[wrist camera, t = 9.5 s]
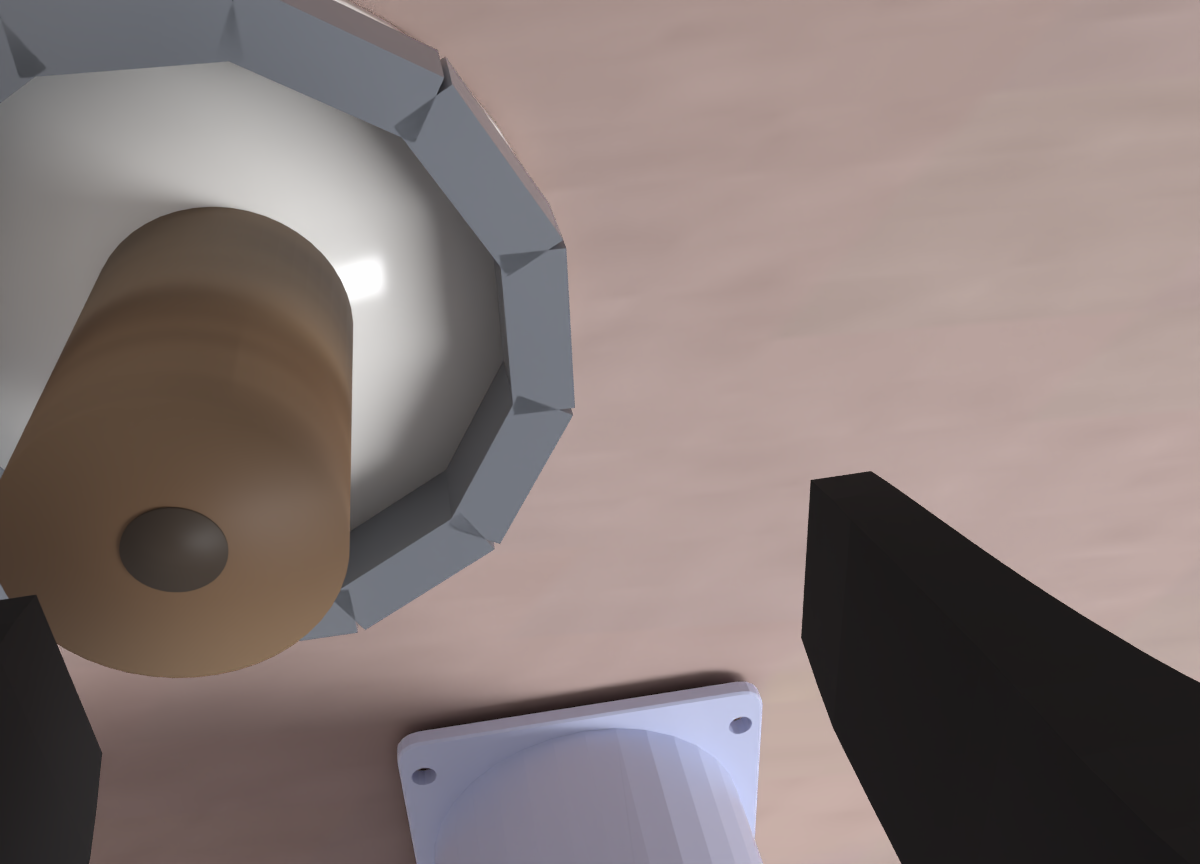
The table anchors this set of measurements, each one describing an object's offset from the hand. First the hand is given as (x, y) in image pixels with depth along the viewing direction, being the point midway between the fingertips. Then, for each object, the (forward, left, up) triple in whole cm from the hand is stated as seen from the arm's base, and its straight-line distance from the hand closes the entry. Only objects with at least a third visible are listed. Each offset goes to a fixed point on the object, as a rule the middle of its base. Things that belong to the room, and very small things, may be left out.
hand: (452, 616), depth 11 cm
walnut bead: (-1, +3, -9) cm, 9 cm away
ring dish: (-1, +3, -9) cm, 10 cm away
